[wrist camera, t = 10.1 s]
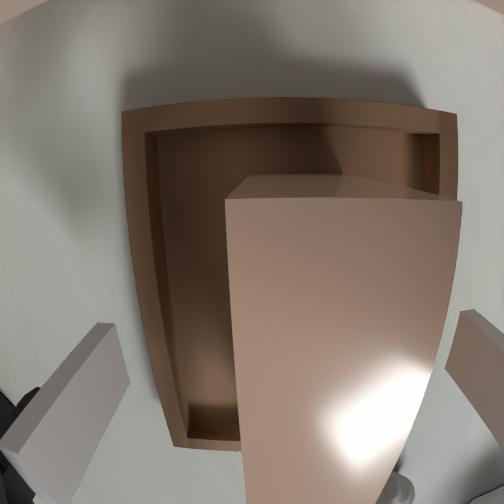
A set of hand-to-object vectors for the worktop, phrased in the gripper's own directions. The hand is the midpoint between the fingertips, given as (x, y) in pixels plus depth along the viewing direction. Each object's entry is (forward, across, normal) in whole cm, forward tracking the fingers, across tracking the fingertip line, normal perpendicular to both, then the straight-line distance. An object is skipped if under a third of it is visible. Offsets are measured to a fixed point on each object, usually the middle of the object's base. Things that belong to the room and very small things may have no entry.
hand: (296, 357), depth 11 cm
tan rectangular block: (+4, 0, 0) cm, 4 cm away
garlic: (+5, +8, -18) cm, 21 cm away
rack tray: (+5, 0, 0) cm, 5 cm away
